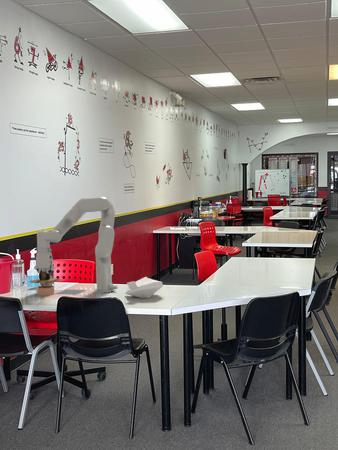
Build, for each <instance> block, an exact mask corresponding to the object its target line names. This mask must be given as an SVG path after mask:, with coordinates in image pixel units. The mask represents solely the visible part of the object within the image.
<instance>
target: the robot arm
mask: <svg viewBox="0 0 338 450" xmlns="http://www.w3.org/2000/svg"><path fill="white" fill-rule="evenodd" d="M92 212H93V213H94V212H100V213H101V217H100V225H99V229H98V240H97V243H96V246H95V248H94V253H95V271H96V272H95V276H96V288H95V289H94V292H95V293H104V292H107V293H112V292H111V291H113V292H115V290H117V289H118V285H114V283H113V282H112V279H113V278H112V258H111V257H112V252H113V248H114V243H115V242H114V241H115V229H114V225H115V217H116V212H115V208H114V205H113V204H112V202H111V201H110V200H109V199H108V198H107V197H105V196H98V197H93V198H92V197H89V198H87V197H86V198H80V199H78V200H77V202H76V203H75V204H74V205H73V206H72V207H71V208H70V209H69V210H68V212H66V214H65V215H64V216H63V218H61V220H60V221H59V222H58V223H57V224H56V226H54V228H53V229H52V230H50V231H49V230H38V231H37V233H36V240H37V241H36V242H37V243H36V245H37V252H36V256H35V265H34V268H33V269H34V270H35V271H36V272H37V274H38V273H39V278H40V280H41V272H42V270H43V269H46V272H47V274H46V280H50V273H51V272H52V270H53V271H55V266H54V260H53V259H54V258H53V255H52V251H53V250H52V248H51V243H59V242H60V241H61V240H62V238H63V236H64V235H65V234H66V233H67V232H68V231H69V230H70V229H72V228H73V227H74V226H75V225H76V224H77V223H78V222H80V220H81V219H82V218H83V217H84V215H85V214H86V213H92ZM50 268H51V269H50Z"/></svg>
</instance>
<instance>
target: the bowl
mask: <svg viewBox="0 0 338 450" xmlns="http://www.w3.org/2000/svg"><path fill="white" fill-rule="evenodd" d="M35 288H36V295H37V296H40V297H41V296H43V297H44V296H52V295H54V294H55V285H53V286H52V285H45V286H36V287H35Z"/></svg>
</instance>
